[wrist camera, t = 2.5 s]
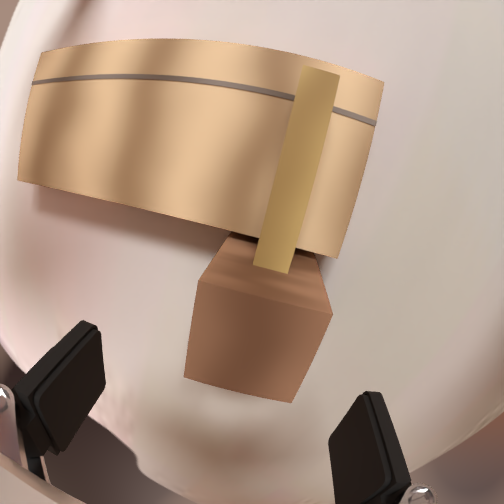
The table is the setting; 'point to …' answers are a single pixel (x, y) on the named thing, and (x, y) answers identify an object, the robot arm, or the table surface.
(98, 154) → the board
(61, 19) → the table surface
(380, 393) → the robot arm
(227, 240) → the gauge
